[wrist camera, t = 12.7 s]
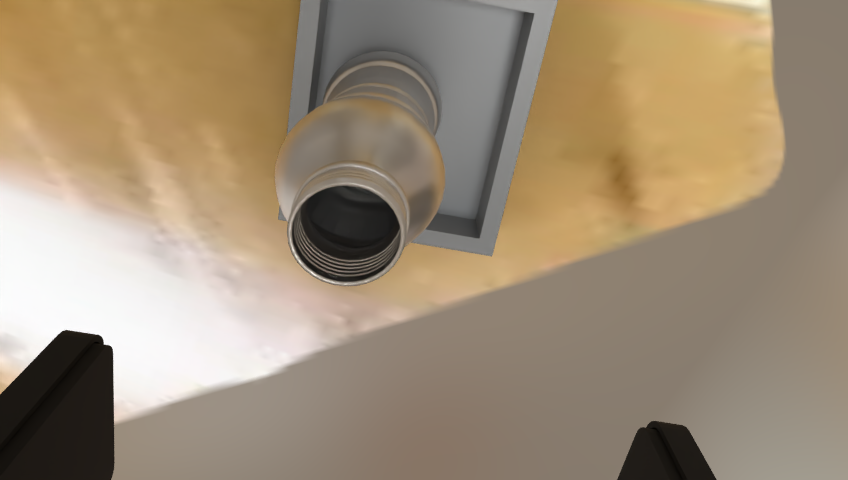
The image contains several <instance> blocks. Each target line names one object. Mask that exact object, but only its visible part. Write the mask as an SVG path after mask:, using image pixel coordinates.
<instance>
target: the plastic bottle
mask: <svg viewBox="0 0 848 480" xmlns="http://www.w3.org/2000/svg"><path fill="white" fill-rule="evenodd" d="M441 116H442V101H441V96H440V92H439V89H438V87H437V85H436V83H435V80H434V79H433V78H432V76H431V75H430V74H429V72H428V71H427V70H426V69H425V68H424V67H423V66H422V65H421V64H419V63H418V62H416V61H415V60H413V59H411V58H410V57H408V56H405V55H402V54H399V53H396V52H389V51H375V52H369V53H365V54H361V55H359V56H357V57H355V58H353V59H351V60H349V61H348V62H347V63H345V64H344V65H343V66H341V67H340V68H339V69H338V71H337V72H336V73H335V74H334V75H333V76H332V78H331V80H330V82H329V83H328V85H327V88H326V91H325V94H324V97H323V104H322V105H321V106H319V107H317V108H315V109H314V110H313V111H311V112H310V113H309V114H307V115H306V116H305V117H304V118H302V119H301V120H300V121H299V122H298V123H297V124H296V125H295V126H294V127H293V129H292V130H291V131H290V132H289V133H288V135H287V137H286V138H285V140H284V142H283V144H282V146H281V147H280V151H279V154H278V157H277V161H276V168H275V184H276V192H277V197H278V201H279V204H280V207H281V210H282V213H283V215H284V217H285V218H286V220H287V222H288V227H287V236H288V244H289V247H290V249H291V252H292V254H293V256H294V258H295V259H296V261H297V263H298V264H299V265H300V266H301V267H302V268H303V269H304V270H305V271H306V272H308V273H309V274H310V275H312V276H313V277H315V278H317V279H319V280H321V281H323V282H326V283H329V284H333V285H339V286H357V285H362V284H366V283H369V282H372V281H374V280H376V279H378V278H380V277H381V276H383V275H384V274H386V273H387V272H388V271H389V270H390V269H391V268H392V267H393V266H394V265H395V263H396V262H397V261H398V259H399V258H400V256H401V253H402V251H403V249H404V247H405V246H406V245H408V244H409V243H411V242H412V241H413V240H414V239H415V238H416V237H417V236H418V235H419V234H421V233H422V232H423V231H424V230H425V228H426V227H427V226H428V225H429V224H430V222H431V221H432V219H433V218H434V216H435V215H436V213H437V211H438V209H439V206H440V204H441V202H442V199H443V194H444V189H445V167H444V163H443V159H442V154H441V151H440V148H439V146H438V143H437V141H436V139H435V136H436V133H437V131H438V128H439V126H440V122H441Z"/></svg>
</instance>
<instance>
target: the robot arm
mask: <svg viewBox="0 0 848 480" xmlns="http://www.w3.org/2000/svg"><path fill="white" fill-rule="evenodd" d="M113 470H114V393H113V349H112V347H111V346H109V345H104V342H103V339H102V337H101V336H100V335H95V334H88V333H82V332H75V331H69V330H65V331H62V332H61V333H60V334H59V335H58V336H57V337H56V338H55V339H54V340H53V341H52V342H51V343H50V344H49V345H48V346H47V347H46V348H45V349H44V350H43V351H42V352H41V353H40V354H39V355H38V356H37V357H36V358H35V359H34V360H33V361H32V362H31V363H30V364H29V365H28V367H27V368H26V369H25V370H24V371H23V372H22V373H21V374H20V375H19V376H18V377H17V378H16V379H15V380H14V381H13V382H12V383H11V384H10V385H9V386H8V387H7V388H6V389H5V390H4V391H3V392H2V393H1V394H0V480H111V478H112V475H113ZM617 480H716V478H715V476H714V474H713V473H712V471H711V469H710V467H709V465H708V464H707V462H706V460H705V458H704V456H703V455H702V453H701V451H700V449H699V448H698V446H697V444H696V442H695V441H694V439H693V437H692V435H691V433H690V432H689V430H688V429H687V428H686V427H685V426H683V425H677V424H671V423H664V422H658V421H652V422H650V423H649V424H648V425H647V427H646V428H644V427H643V428H640V429H639V430H638V431H637V433H636V435H635V438H634V440H633V443H632V445H631V448H630V450H629V452H628V455H627V457H626V460H625V462H624V465H623V467H622V470H621V472H620V475H619V477H618V479H617Z"/></svg>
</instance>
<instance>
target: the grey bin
mask: <svg viewBox="0 0 848 480" xmlns="http://www.w3.org/2000/svg"><path fill="white" fill-rule="evenodd" d="M557 1H558V0H301V4H300V14H299V23H298V33H297V43H296V52H295V62H294V72H293V81H292V91H291V101H290V110H289V120H288V130H287V135H288V133H289V132H290V131H291V130H292V129H293V127H294V126H295V125H296V124H297V123H298V122H299V121H300V120H301V119H302V118H304V117H305V116H306V115H307V114H309V113H310V112H311V111H313V110H314V109H315V108H317V107H319V106H321V105H322V104H323V97H324V94H325V91H326V88H327V85H328V83H329V82H330V80H331V78H332V76H333V75H334V74H335V73H336V72H337V71H338V69H339V68H340V67H341V66H343V65H344V64H345V63H347V62H348V61H349V60H351V59H353V58H355V57H357V56H359V55H361V54H365V53H369V52H375V51H389V52H396V53H399V54H402V55H405V56H408V57H410V58H411V59H413V60H415V61H416V62H418V63H419V64H421V65H422V66H423V67H424V68H425V69H426V70H427V71H428V72H429V74H430V75H431V76H432V78H433V79H434V80H435V83H436V85H437V87H438V89H439V92H440V96H441V101H442V116H441V122H440V126H439V128H438V131H437V133H436V136H435V139H436V141H437V143H438V146H439V148H440V151H441V154H442V159H443V163H444V167H445V189H444V194H443V199H442V202H441V204H440V206H439V209H438V211H437V213H436V215H435V216H434V218H433V219H432V221H431V222H430V224H429V225H428V226H427V227H426V228H425V230H424V231H423V232H422V233H421V234H419V235H418V236H417V237H416V238H415V239H414V240H413V241H412V242H411V243H417V244H423V245H429V246H435V247H440V248H446V249H452V250H458V251H464V252H469V253H475V254H481V255H487V256H492V255H493V251H494V247H495V243H496V239H497V235H498V231H499V227H500V223H501V219H502V216H503V212H504V208H505V204H506V200H507V196H508V192H509V188H510V184H511V180H512V177H513V173H514V169H515V165H516V161H517V157H518V153H519V149H520V145H521V141H522V138H523V134H524V130H525V126H526V122H527V118H528V114H529V110H530V106H531V102H532V99H533V95H534V91H535V87H536V83H537V79H538V75H539V71H540V67H541V63H542V60H543V56H544V52H545V48H546V44H547V40H548V36H549V32H550V28H551V24H552V21H553V17H554V13H555V9H556V5H557ZM278 220H283V221H287V220H286V218H285V217H284V215H283V213H282V210H281V207H279V217H278Z"/></svg>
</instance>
